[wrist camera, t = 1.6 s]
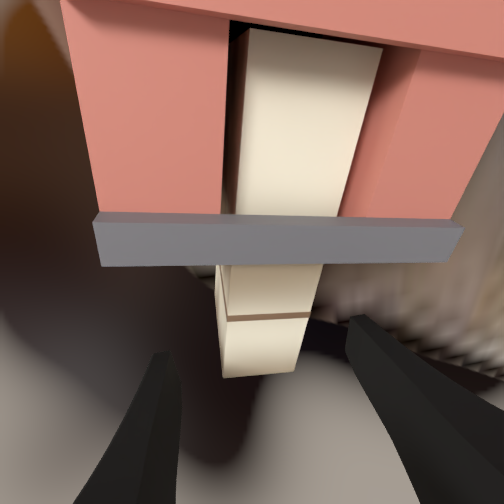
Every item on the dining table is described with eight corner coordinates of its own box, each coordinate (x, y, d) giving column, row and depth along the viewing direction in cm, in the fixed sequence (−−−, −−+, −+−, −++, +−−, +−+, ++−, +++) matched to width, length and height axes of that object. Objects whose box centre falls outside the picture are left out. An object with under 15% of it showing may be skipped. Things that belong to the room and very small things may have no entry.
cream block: (224, 46, 11) (249, 28, 6) (306, 57, 11) (384, 48, 7) (214, 294, 17) (222, 378, 12) (267, 292, 18) (294, 371, 13)
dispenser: (104, -208, 7) (-183, -1103, 2) (434, -112, 9) (801, -391, 4) (142, 179, 13) (101, 266, 7) (348, 188, 15) (446, 262, 9)
